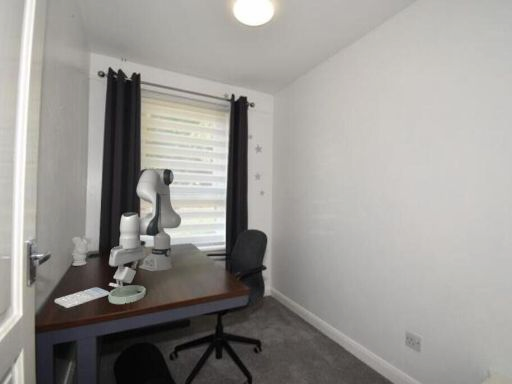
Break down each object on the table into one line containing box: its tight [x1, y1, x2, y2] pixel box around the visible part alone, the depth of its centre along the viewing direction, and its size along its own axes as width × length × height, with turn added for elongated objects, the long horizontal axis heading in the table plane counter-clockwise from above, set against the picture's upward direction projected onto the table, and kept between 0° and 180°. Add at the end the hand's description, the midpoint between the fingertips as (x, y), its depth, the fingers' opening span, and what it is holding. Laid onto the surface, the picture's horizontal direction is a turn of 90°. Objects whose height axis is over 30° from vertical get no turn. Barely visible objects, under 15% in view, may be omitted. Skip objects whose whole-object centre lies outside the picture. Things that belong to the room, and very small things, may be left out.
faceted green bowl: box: [107, 284, 147, 305], centre depth 130 cm, size 17×17×3 cm
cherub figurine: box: [71, 234, 92, 267], centre depth 187 cm, size 12×12×22 cm
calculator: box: [54, 287, 110, 309], centre depth 128 cm, size 13×20×2 cm, turn 150°
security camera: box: [108, 265, 137, 290], centre depth 127 cm, size 6×7×10 cm
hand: (128, 270), depth 130 cm, fingers closed on security camera, 6 cm apart
